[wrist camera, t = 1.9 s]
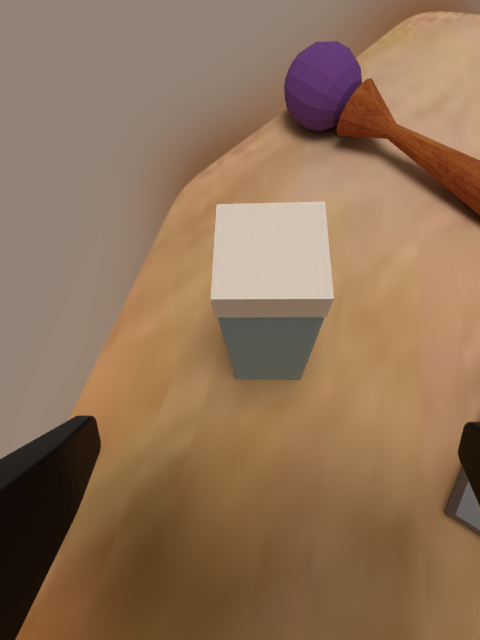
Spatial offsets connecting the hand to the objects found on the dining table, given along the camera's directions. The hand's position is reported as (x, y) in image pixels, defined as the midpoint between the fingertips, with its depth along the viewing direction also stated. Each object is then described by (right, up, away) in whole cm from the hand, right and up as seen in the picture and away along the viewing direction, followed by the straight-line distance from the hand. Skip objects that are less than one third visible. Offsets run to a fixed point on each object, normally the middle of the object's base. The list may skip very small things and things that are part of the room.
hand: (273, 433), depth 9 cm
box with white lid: (+1, +1, +14) cm, 14 cm away
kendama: (+11, +16, +20) cm, 28 cm away
